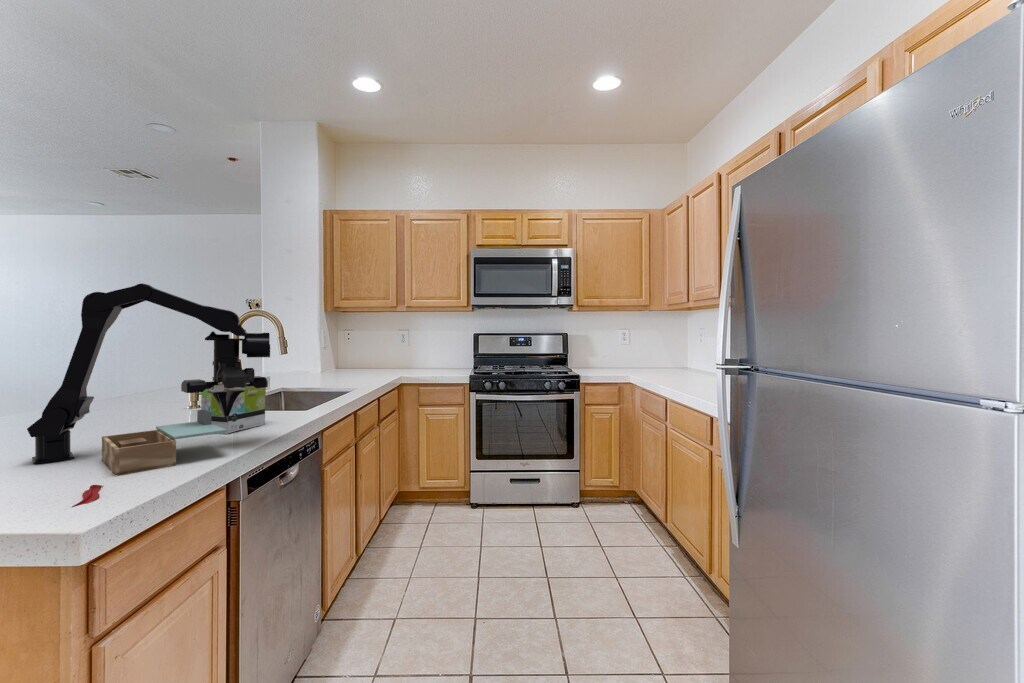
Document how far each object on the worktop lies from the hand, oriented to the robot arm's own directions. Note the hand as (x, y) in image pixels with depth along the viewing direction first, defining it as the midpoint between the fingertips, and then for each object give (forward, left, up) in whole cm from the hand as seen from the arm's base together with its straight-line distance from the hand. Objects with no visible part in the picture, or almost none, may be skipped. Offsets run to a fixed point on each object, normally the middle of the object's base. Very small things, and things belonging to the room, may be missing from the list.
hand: (226, 416), depth 120 cm
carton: (+5, -19, -7) cm, 21 cm away
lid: (+4, -9, -2) cm, 10 cm away
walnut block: (+5, -20, -7) cm, 22 cm away
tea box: (-20, +9, -8) cm, 23 cm away
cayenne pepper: (+24, -29, -8) cm, 39 cm away
